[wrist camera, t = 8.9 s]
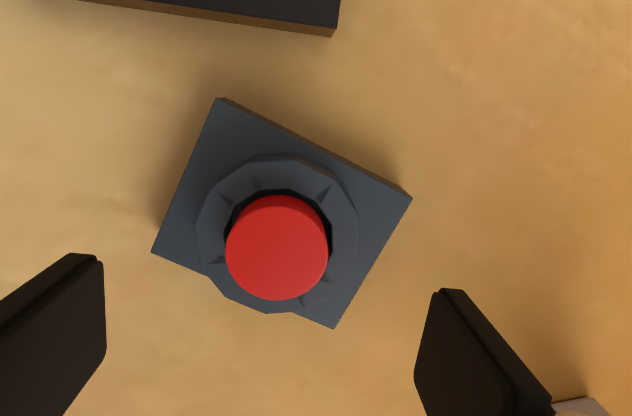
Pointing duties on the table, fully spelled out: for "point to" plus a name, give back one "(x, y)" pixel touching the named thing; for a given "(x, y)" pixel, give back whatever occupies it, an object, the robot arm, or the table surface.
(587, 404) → the vintage mobile phone
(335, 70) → the table surface
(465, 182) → the table surface
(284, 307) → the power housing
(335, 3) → the panel
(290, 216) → the power button
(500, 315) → the table surface
